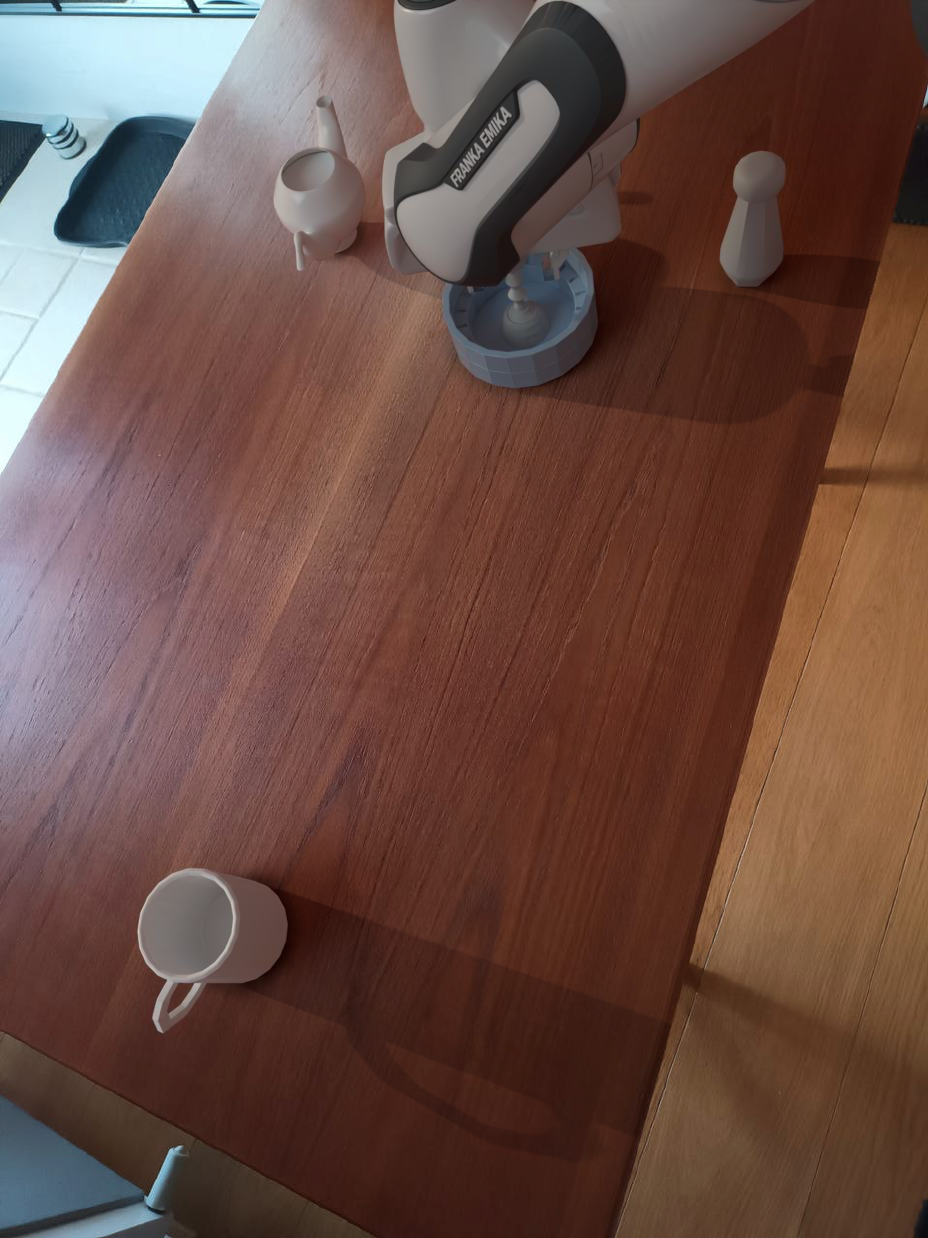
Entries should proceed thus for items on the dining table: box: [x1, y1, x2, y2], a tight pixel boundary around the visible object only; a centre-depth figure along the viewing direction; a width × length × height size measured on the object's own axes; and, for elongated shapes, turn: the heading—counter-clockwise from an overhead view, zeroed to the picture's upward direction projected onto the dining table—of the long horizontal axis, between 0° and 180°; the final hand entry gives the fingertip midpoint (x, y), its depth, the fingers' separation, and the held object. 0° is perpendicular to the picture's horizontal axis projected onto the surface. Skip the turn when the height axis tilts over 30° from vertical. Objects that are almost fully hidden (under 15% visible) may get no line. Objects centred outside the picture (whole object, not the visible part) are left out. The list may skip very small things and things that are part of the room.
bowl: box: [441, 247, 599, 389], centre depth 92 cm, size 14×14×6 cm
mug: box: [137, 867, 289, 1034], centre depth 74 cm, size 8×12×10 cm, turn 159°
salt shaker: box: [719, 150, 787, 288], centre depth 86 cm, size 6×6×13 cm
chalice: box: [500, 252, 550, 348], centre depth 86 cm, size 7×7×18 cm
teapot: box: [272, 95, 366, 272], centre depth 100 cm, size 10×20×9 cm, turn 173°
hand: (514, 280), depth 88 cm, fingers closed on chalice, 6 cm apart
